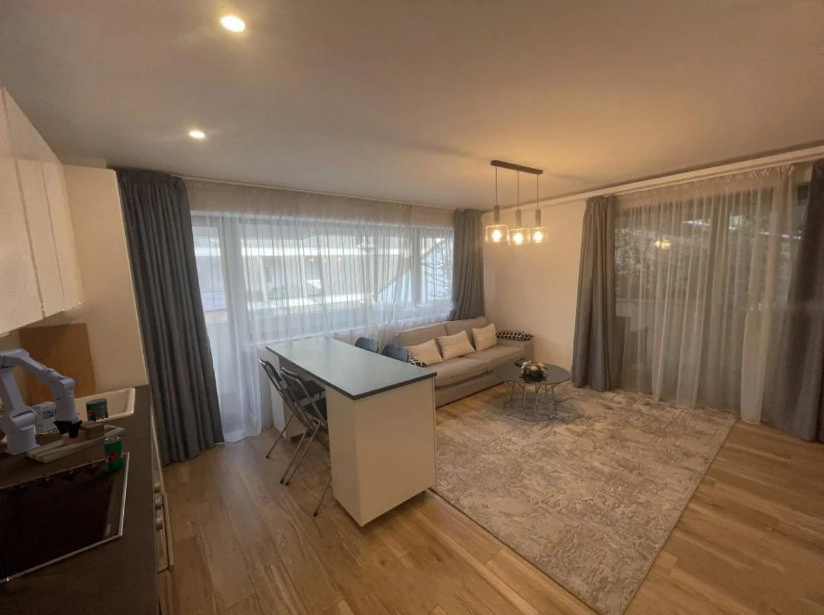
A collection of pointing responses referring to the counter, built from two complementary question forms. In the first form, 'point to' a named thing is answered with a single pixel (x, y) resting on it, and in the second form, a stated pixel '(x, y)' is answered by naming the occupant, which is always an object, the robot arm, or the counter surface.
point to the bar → (81, 436)
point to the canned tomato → (97, 409)
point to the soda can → (113, 453)
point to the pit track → (93, 437)
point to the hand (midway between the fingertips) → (69, 436)
